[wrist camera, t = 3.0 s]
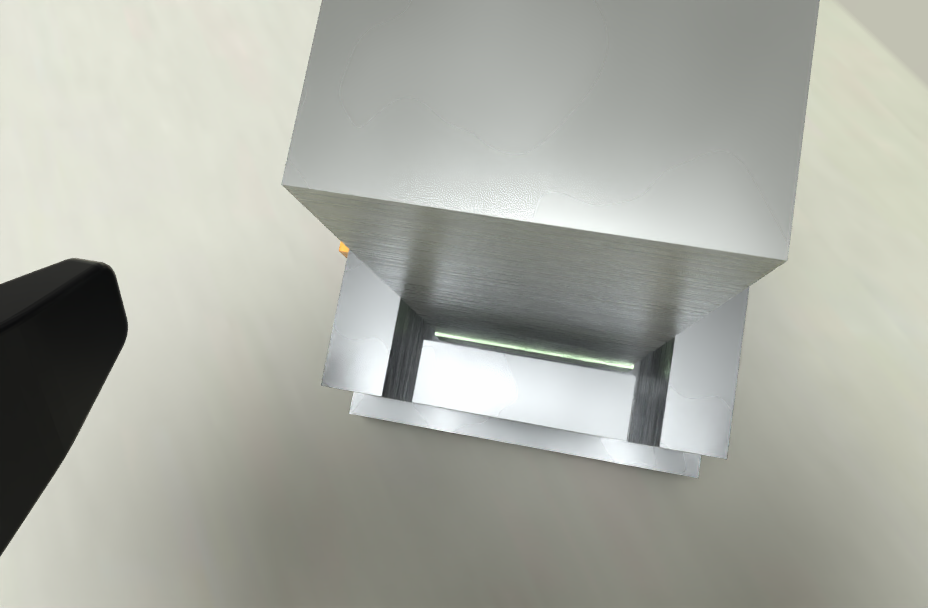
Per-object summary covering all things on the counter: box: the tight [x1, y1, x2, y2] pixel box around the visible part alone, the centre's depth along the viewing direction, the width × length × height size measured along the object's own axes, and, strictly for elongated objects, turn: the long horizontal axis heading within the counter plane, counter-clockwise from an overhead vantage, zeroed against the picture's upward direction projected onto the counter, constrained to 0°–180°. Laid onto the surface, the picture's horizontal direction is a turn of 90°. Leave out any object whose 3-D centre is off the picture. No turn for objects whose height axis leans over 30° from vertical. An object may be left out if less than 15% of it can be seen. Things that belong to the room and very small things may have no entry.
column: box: [281, 0, 820, 373], centre depth 12 cm, size 4×4×12 cm
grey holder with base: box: [321, 242, 749, 478], centre depth 17 cm, size 8×8×6 cm
